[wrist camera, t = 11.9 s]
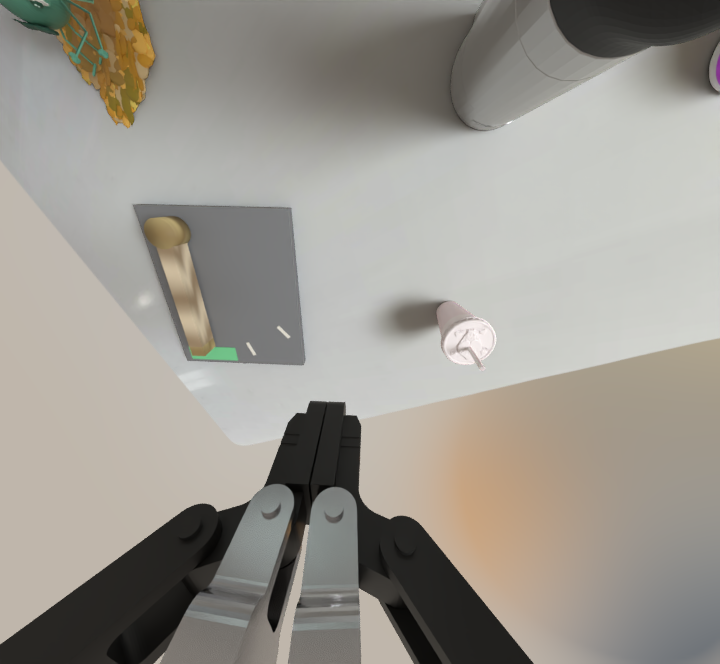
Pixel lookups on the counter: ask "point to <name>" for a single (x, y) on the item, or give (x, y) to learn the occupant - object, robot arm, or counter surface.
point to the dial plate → (240, 281)
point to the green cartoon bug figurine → (98, 45)
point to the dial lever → (182, 279)
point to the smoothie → (464, 335)
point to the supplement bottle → (715, 69)
